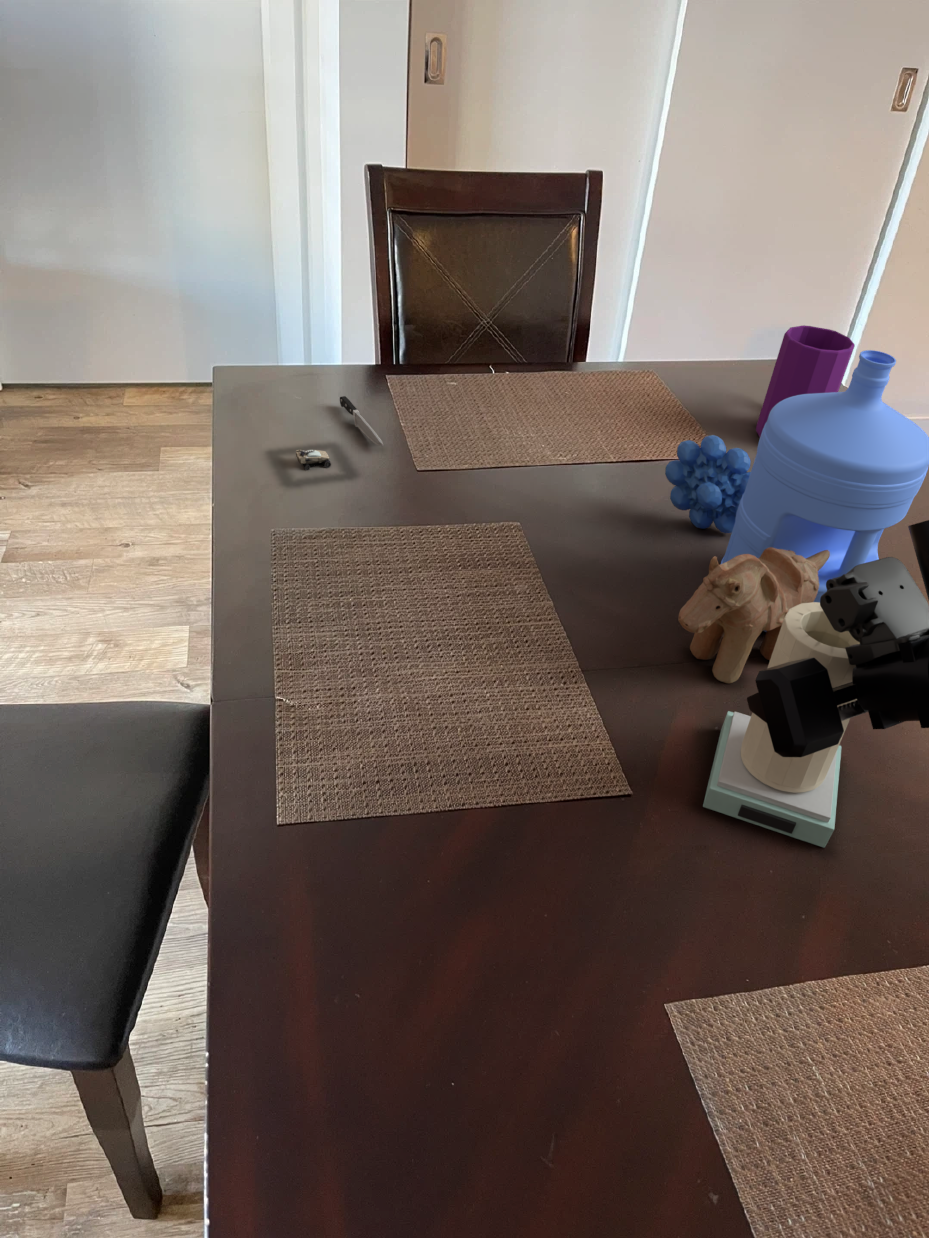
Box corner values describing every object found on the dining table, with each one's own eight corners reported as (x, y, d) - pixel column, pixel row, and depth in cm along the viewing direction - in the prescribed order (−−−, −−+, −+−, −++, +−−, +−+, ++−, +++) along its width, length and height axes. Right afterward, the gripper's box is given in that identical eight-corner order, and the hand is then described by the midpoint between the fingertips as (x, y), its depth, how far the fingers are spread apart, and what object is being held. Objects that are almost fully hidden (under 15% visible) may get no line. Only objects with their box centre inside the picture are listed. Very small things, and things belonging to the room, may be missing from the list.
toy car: (331, 467, 115) (331, 453, 114) (299, 471, 114) (299, 457, 112) (325, 457, 117) (325, 443, 115) (294, 461, 115) (293, 447, 114)
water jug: (687, 569, 103) (756, 329, 86) (800, 550, 108) (887, 319, 90) (768, 657, 92) (866, 402, 74) (889, 632, 97) (1009, 387, 79)
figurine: (636, 669, 89) (669, 543, 80) (761, 619, 97) (805, 498, 88) (687, 717, 84) (729, 588, 75) (814, 660, 92) (866, 537, 83)
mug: (753, 446, 128) (785, 344, 119) (755, 401, 140) (784, 305, 131) (820, 459, 127) (857, 356, 117) (816, 413, 139) (850, 316, 129)
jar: (842, 770, 76) (900, 638, 68) (790, 805, 72) (845, 670, 64) (775, 722, 80) (822, 592, 72) (723, 752, 77) (766, 619, 69)
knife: (385, 455, 118) (386, 441, 117) (380, 456, 118) (380, 442, 117) (344, 407, 128) (344, 394, 127) (339, 408, 128) (339, 394, 127)
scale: (824, 850, 73) (836, 827, 72) (701, 808, 76) (710, 785, 74) (832, 764, 81) (844, 741, 79) (721, 729, 83) (729, 705, 82)
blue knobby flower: (645, 532, 109) (667, 442, 101) (658, 505, 114) (680, 418, 106) (743, 559, 106) (772, 468, 98) (751, 530, 111) (780, 442, 103)
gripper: (1023, 529, 63) (853, 570, 77) (819, 583, 56) (674, 617, 70) (1068, 686, 62) (888, 697, 77) (868, 760, 55) (711, 758, 70)
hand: (794, 689), depth 73 cm, fingers open, 9 cm apart
